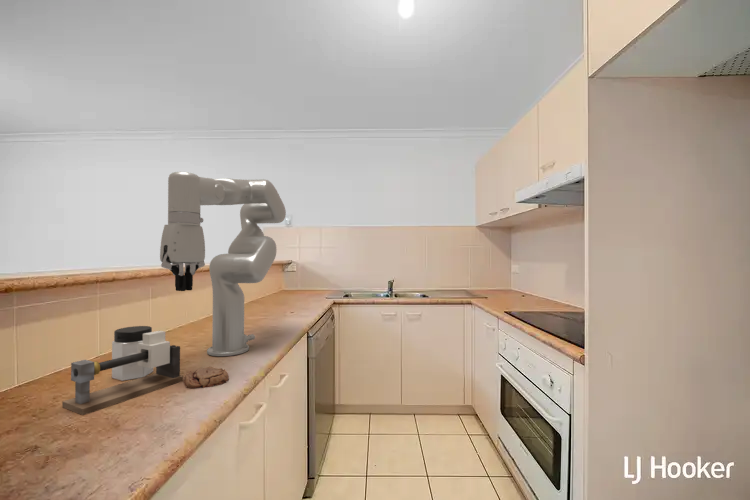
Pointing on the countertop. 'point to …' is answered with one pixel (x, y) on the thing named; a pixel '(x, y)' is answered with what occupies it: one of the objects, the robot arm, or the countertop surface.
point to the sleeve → (154, 349)
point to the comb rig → (109, 396)
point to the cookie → (206, 377)
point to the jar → (129, 352)
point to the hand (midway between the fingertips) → (184, 290)
